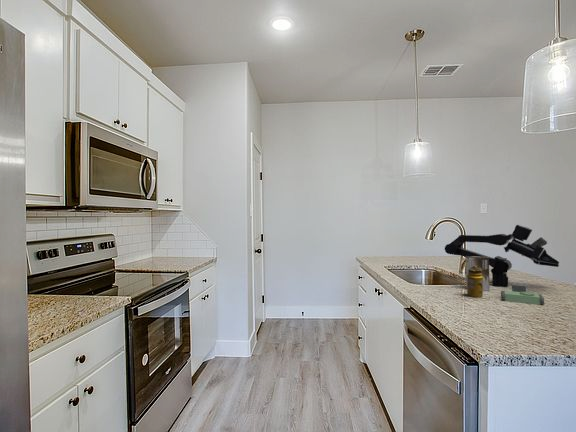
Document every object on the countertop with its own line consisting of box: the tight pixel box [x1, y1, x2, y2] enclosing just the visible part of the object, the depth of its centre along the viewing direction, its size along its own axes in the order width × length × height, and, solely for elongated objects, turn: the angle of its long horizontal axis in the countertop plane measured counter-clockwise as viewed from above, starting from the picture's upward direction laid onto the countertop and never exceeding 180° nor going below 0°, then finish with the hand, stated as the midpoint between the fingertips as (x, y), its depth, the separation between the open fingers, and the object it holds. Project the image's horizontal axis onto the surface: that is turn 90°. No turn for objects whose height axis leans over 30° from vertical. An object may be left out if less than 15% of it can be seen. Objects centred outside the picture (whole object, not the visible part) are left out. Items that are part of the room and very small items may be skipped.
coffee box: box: [465, 256, 491, 292], centre depth 162 cm, size 9×6×16 cm
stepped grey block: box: [511, 283, 527, 292], centre depth 153 cm, size 5×6×4 cm
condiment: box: [459, 269, 487, 299], centre depth 149 cm, size 7×8×12 cm
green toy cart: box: [500, 289, 545, 306], centre depth 142 cm, size 14×12×4 cm
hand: (558, 264), depth 153 cm, fingers open, 9 cm apart
